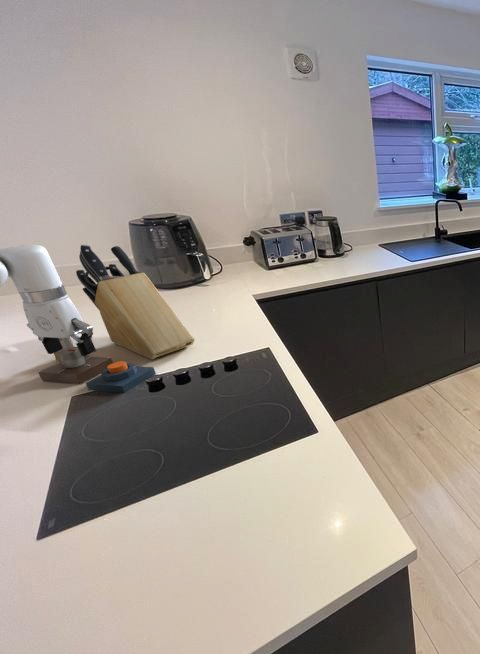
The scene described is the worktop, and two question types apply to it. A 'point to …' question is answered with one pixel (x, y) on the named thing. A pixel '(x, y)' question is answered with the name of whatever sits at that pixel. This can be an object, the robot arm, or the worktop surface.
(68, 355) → the dial
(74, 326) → the robot arm
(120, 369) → the orange push button
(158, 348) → the knife block
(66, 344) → the sprinkles bottle
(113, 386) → the push button base
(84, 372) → the dial panel
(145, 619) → the worktop surface
